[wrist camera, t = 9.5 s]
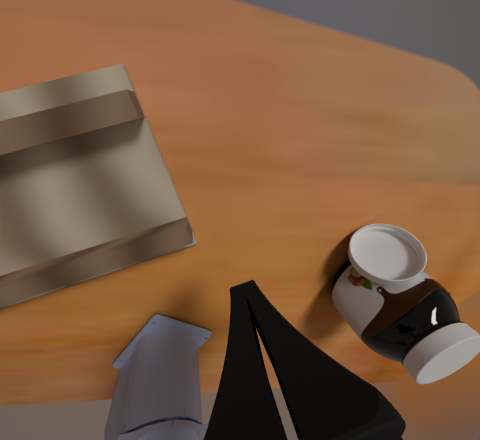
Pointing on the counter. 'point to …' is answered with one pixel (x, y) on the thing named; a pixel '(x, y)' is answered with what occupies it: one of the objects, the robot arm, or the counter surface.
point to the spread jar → (401, 304)
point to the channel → (81, 185)
